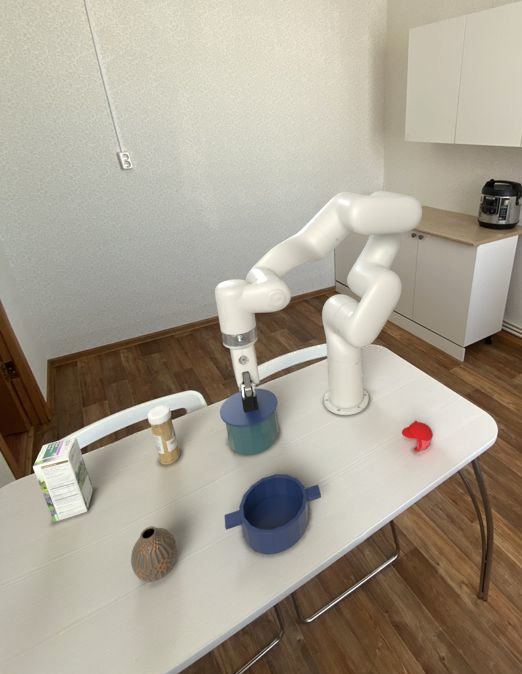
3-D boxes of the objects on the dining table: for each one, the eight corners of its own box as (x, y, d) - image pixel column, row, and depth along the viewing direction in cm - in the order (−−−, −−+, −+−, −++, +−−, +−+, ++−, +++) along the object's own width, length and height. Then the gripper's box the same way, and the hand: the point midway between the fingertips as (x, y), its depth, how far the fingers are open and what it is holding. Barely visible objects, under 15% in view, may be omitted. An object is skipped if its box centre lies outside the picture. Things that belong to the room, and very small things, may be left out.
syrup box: (62, 499, 79) (40, 444, 74) (95, 489, 82) (76, 435, 76) (53, 523, 75) (29, 466, 69) (89, 511, 77) (68, 456, 72)
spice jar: (182, 459, 89) (171, 412, 84) (160, 468, 86) (148, 421, 82) (178, 447, 92) (168, 401, 88) (158, 455, 90) (145, 409, 85)
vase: (134, 597, 62) (121, 561, 59) (138, 557, 68) (127, 522, 65) (180, 578, 65) (170, 543, 62) (180, 541, 71) (171, 507, 68)
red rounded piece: (419, 430, 96) (420, 410, 94) (437, 443, 92) (438, 423, 90) (396, 445, 92) (396, 425, 90) (414, 460, 87) (415, 440, 85)
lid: (219, 399, 96) (215, 377, 94) (273, 387, 100) (270, 365, 98) (221, 435, 84) (217, 411, 82) (282, 420, 89) (279, 396, 86)
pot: (247, 415, 102) (243, 387, 99) (287, 425, 99) (284, 396, 96) (218, 448, 92) (212, 418, 89) (261, 460, 88) (257, 429, 85)
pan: (226, 509, 77) (222, 489, 75) (313, 482, 82) (311, 462, 81) (230, 571, 66) (225, 549, 64) (329, 534, 72) (328, 513, 70)
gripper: (261, 349, 79) (270, 416, 85) (252, 315, 94) (260, 374, 100) (223, 357, 76) (235, 425, 82) (220, 321, 92) (230, 381, 98)
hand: (249, 397), depth 91 cm, fingers open, 9 cm apart
